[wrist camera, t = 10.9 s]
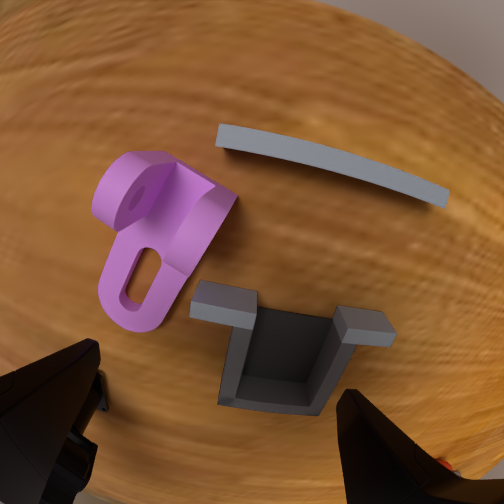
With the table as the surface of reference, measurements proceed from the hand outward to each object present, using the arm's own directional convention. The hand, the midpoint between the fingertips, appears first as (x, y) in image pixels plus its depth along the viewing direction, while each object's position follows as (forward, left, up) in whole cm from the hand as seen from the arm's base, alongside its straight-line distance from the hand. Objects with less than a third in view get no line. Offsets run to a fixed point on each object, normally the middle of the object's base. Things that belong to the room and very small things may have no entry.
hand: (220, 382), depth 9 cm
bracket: (-1, +6, -11) cm, 13 cm away
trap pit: (-6, -5, -11) cm, 13 cm away
